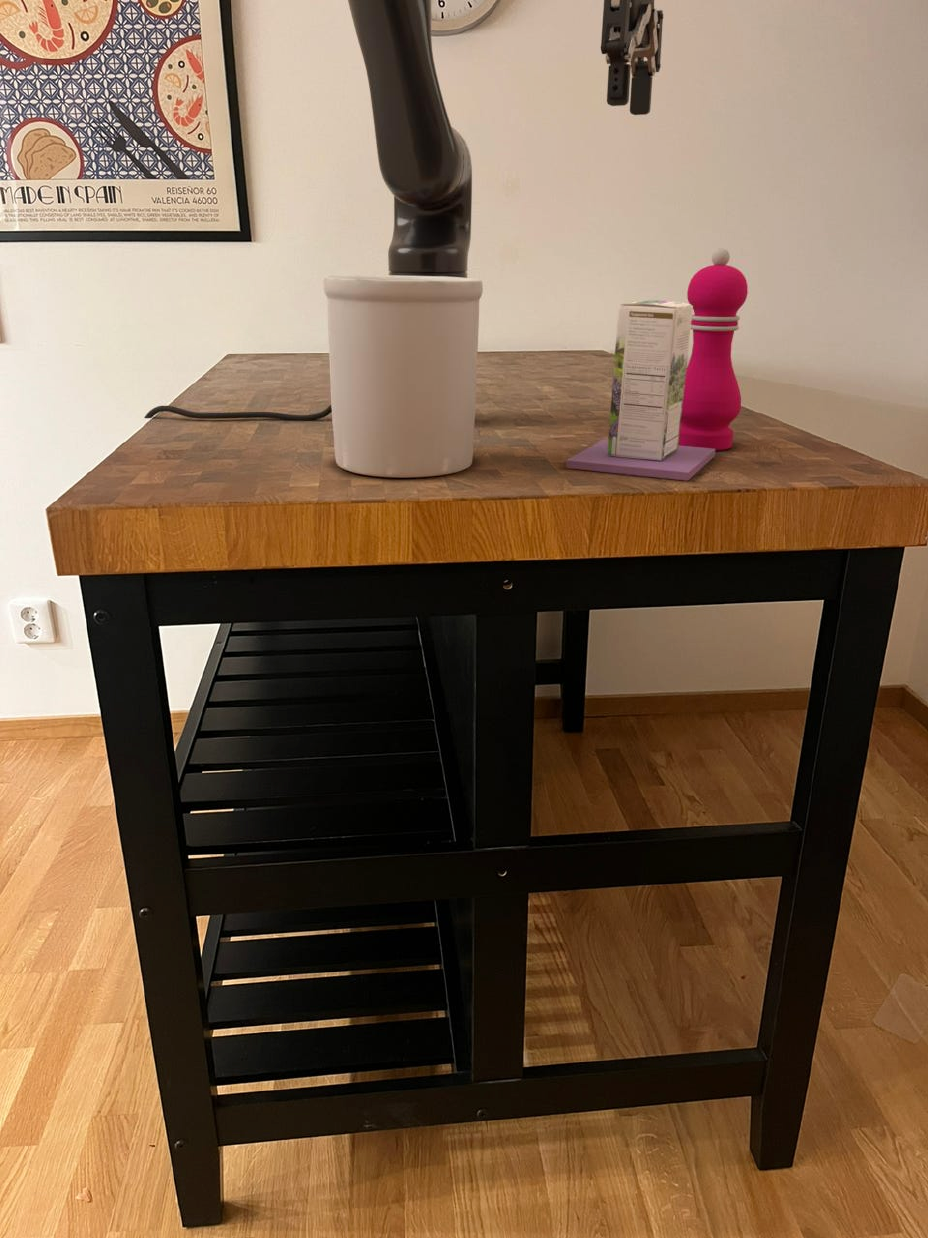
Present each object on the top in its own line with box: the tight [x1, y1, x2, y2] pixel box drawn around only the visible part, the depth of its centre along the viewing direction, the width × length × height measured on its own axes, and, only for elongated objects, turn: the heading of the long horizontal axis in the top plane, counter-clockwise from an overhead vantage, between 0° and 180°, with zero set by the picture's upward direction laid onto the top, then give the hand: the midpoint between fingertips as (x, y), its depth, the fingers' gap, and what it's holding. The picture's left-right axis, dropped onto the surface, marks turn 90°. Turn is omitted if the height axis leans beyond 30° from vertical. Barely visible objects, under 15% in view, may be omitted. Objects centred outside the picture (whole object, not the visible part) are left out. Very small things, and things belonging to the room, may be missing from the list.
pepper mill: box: [678, 247, 749, 452], centre depth 98 cm, size 7×7×20 cm
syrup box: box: [607, 299, 693, 461], centre depth 90 cm, size 6×6×14 cm
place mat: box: [565, 438, 716, 482], centre depth 93 cm, size 12×12×1 cm
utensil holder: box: [323, 274, 484, 479], centre depth 89 cm, size 15×15×18 cm
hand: (628, 109), depth 102 cm, fingers open, 8 cm apart
